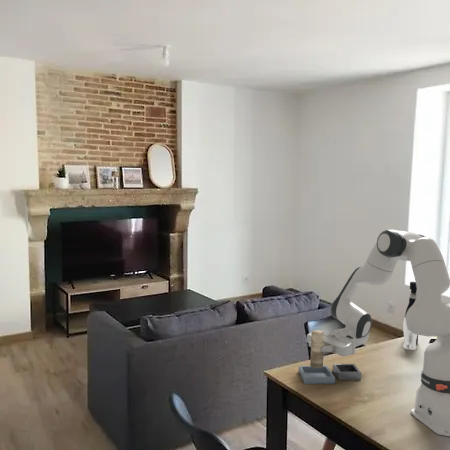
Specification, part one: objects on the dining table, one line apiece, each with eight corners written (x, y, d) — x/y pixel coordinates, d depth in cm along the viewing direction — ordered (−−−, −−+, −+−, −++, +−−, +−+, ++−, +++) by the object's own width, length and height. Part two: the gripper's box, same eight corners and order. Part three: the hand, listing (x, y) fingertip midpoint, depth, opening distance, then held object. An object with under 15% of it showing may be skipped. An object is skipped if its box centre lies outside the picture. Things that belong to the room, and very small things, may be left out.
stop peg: (324, 368, 199) (325, 334, 197) (311, 368, 198) (313, 334, 197) (321, 363, 204) (322, 330, 202) (309, 363, 203) (310, 330, 202)
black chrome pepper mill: (401, 340, 247) (404, 281, 244) (411, 339, 249) (415, 280, 246) (409, 345, 241) (413, 284, 238) (420, 344, 243) (424, 283, 240)
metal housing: (360, 379, 200) (361, 372, 200) (338, 379, 199) (339, 372, 199) (353, 370, 209) (354, 363, 209) (332, 371, 208) (332, 364, 208)
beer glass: (415, 346, 240) (417, 315, 239) (419, 351, 233) (421, 320, 232) (400, 345, 241) (402, 315, 239) (404, 350, 234) (405, 319, 233)
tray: (335, 383, 196) (335, 377, 195) (304, 383, 195) (305, 377, 195) (327, 371, 208) (327, 365, 207) (298, 371, 207) (298, 365, 207)
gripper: (320, 326, 216) (297, 332, 207) (358, 340, 200) (335, 347, 191) (319, 340, 217) (296, 347, 208) (357, 355, 200) (335, 362, 192)
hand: (315, 347), depth 200 cm, fingers closed on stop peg, 5 cm apart
